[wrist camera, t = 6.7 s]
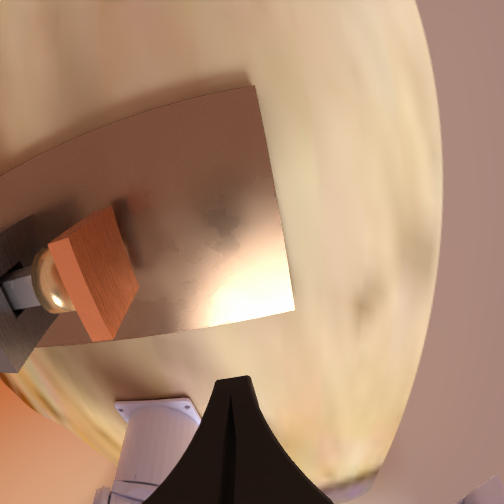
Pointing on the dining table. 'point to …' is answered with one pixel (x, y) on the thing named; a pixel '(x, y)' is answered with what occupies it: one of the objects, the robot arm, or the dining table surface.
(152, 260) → the bearing base
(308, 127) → the dining table surface
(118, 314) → the shaft
